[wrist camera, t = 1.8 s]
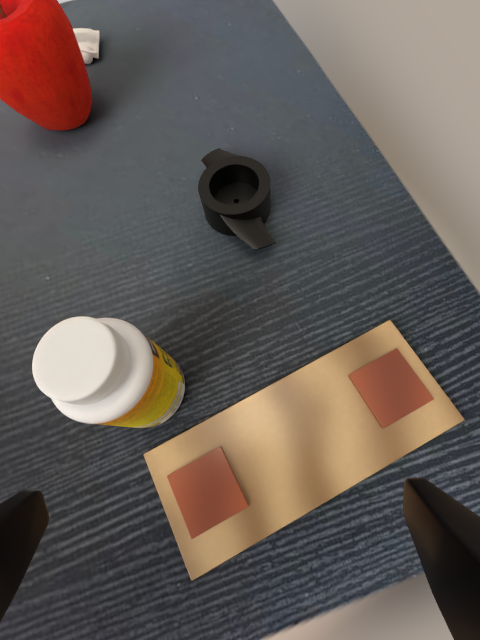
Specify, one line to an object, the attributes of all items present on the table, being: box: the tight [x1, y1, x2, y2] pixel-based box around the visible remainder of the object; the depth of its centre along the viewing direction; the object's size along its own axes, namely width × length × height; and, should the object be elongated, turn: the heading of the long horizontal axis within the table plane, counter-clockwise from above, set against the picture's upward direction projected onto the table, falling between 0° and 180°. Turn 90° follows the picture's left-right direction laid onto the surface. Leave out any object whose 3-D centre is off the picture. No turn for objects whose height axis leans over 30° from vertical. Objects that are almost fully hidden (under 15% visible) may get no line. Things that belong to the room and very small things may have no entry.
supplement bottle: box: [32, 316, 185, 428], centre depth 20 cm, size 6×6×10 cm
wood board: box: [144, 320, 464, 581], centre depth 22 cm, size 20×8×1 cm, turn 118°
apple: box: [0, 0, 92, 131], centre depth 30 cm, size 9×9×11 cm
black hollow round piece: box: [198, 149, 275, 250], centre depth 28 cm, size 8×10×3 cm
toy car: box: [73, 28, 100, 64], centre depth 37 cm, size 5×8×2 cm, turn 97°
